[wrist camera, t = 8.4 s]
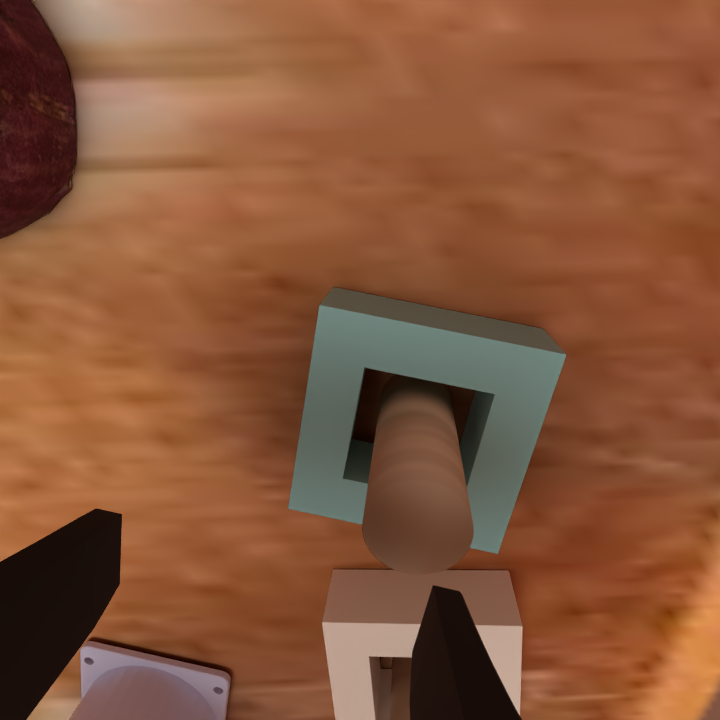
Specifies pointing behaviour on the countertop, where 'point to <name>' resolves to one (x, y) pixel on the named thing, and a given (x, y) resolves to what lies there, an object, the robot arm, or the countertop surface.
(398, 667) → the walnut dowel
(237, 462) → the countertop surface
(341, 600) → the white peg holder
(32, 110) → the vegetable
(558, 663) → the countertop surface
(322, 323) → the teal square frame block
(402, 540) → the maple dowel
